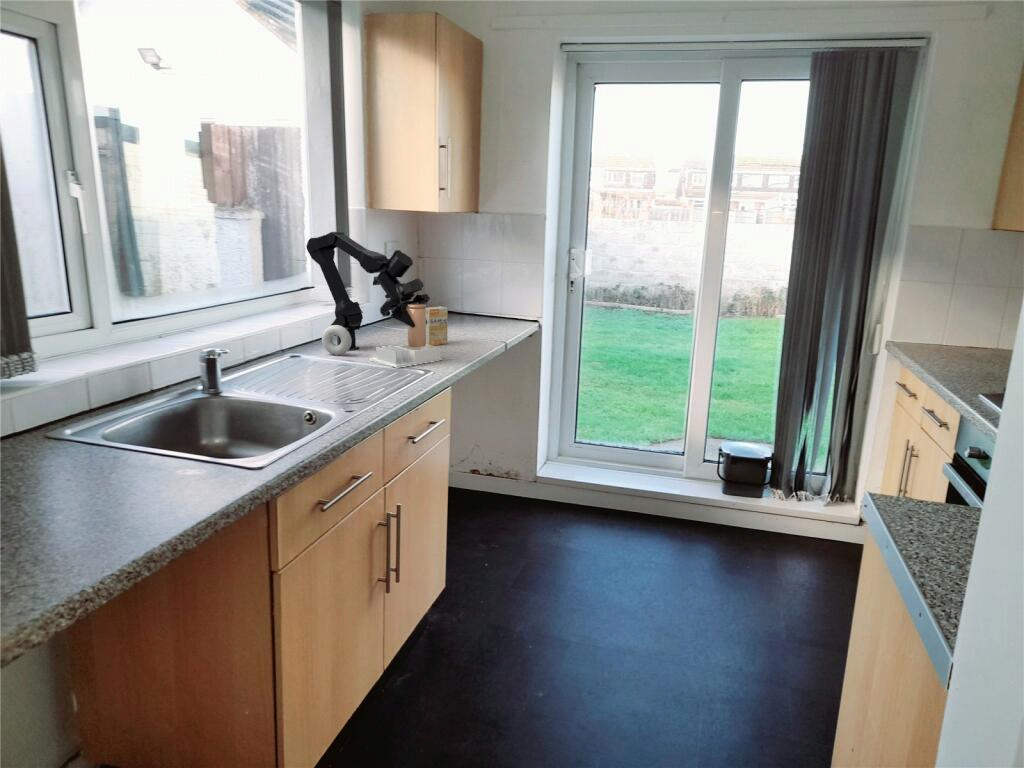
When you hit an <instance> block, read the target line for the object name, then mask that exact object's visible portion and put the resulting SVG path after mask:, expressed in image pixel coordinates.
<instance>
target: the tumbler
mask: <svg viewBox="0 0 1024 768" xmlns="http://www.w3.org/2000/svg"><path fill="white" fill-rule="evenodd" d="M426 308H427V303H426V304H419V303H413V304H408V307H407V312H408V314H409V315H410V317H411V319H412V320H413V322H414V324H415V327H414V328H412V327H410V326H409V325H407V344H408V346H410V347H425V346H426Z"/></svg>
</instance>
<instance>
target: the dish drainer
mask: <svg viewBox="0 0 1024 768" xmlns="http://www.w3.org/2000/svg"><path fill="white" fill-rule="evenodd" d="M375 348H376V356H373V357H369V361H370V360H371V361H375V362H378V363H383V364H386V365H390V366H394V367H402V366H409V365H414V364H420V363H425V362H431V361H437V362H440V361H439V360H442V361H443V357H441V356H440V346H438V345H429V344H426V346H425V347H410V346H408V343H406V344H403V345H396V346H395V345H390V344H388V345H387V346H385V345H382V346H381V347H380V346H376V347H375ZM371 361H370V362H371ZM378 363H377V364H378ZM431 363H432V362H431Z"/></svg>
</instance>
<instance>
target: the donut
mask: <svg viewBox="0 0 1024 768" xmlns="http://www.w3.org/2000/svg"><path fill="white" fill-rule="evenodd" d="M334 336H336V337H337V336H339V337H340V339H341V343H340V345H337V344H335V343H334V341H333V338H334ZM351 342H352V340H351V336H350V334H349V332H348V331H347V330H346V329H345V328H344V327H342V326H339V325H331V324H330V325H329V326H328V327H326V328H325V330H324V331H323V333H322V335H321V344H322V346H323V348H324V349H325V350H326V351H327V352H328V353H329V354H331V355H333V354H335V355H334V356H341V355H345V354H347V352H348V351H350V350H349V349H350V347H351Z"/></svg>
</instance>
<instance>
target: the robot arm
mask: <svg viewBox="0 0 1024 768" xmlns="http://www.w3.org/2000/svg"><path fill="white" fill-rule="evenodd" d="M306 243H307V244H306V251H307V253H308V254H309V256H310V258H311V259H312V260H313V261H314V262H315V263H316V264H317V265H319V267H320V270H321V272H322V274H323V276H324V279H325V281H326V284H327V286H328V289H329V292H330V293H331V297H332V298H333V299H332V300H333V301H334V304H335V306H334V307H335V309H334V317H335V319H334V320H333V321H332V323H331V324H330V326H331V325H339V326H342V327H344V328H345V329H346V330H347V331H348V332H349V334H350V336H351V340H352V342H351V347H350V349H349V350H348V351H350V350H351V349H352V350H356V349H357V350H358V349H360V346H357V341H356V331H357V330H360V329H361V324H362V322H363V319H364V318H363V312H364V311H362V309H361V306H360V303H359V302H358V301H355V302H354V301H352V299H351V298H350V296H349V293H348V292H347V289H346V286H345V284H344V282H343V279H342V277H341V275H340V272H339V269H338V268H337V265H336V263H335V254H336V251H335V249H337V248H338V249H340V250H342V251H343V252H344V253H346V254H348V255H349V256H350V257H352V258H353V259H355V260H356V261H357V262H358V263H359V265H360V267H361V268H362V269H363V270H364V271H365V272H366V273H367V274H378V275H377V276H373V281H372V286H380V287H381V288H382V289H383V291H384V292H385V295H384V297H385V299H386V301H385V302H384V303H383V304H382V305H381V306H380V308H379V313H380V315H381V316H382V317H384V318H385V317H390V318H393V319H395V320H398V321H399V322H401V323H403V324H406V325H407V326H408V325H409V326H410V327H412V328H414V327H415V324H414V322H413V320H412V319H411V317H410V315H409V314H408V304H413V303H419V304H426V305H427V303H428V302H429V301H430V300H431V298H430V297H429V294H428V293H419V294H415V293H417V292H420V291H422V290H423V287H424V282H423V281H422V280H421V279H420V278H415V279H413V280H410V281H408V282H406V283H405V282H401V280H399V279H400V278H403V277H405V274H406V273H407V272H408V271H409V269H410V268H411V267H413V265H414V262H413V259H412V258H411V257H410V256H409V255H407V254H406V253H404V252H402V251H401V250H400V249H399V250H398V249H397V250H394V252H393V254H392V255H391V257H390V258H388V257H387V256H386V255H385V254H383V253H380V252H378V251H374V250H370V249H368V248H366V247H364V246H362V244H360V243H358V242H356V241H355V240H354V239H352V238H350V237H349V236H347V235H346V234H345V233H344V232H343V231H330V232H328V233H326V234H324V235H321V236H318V237H317V236H316V237H311V238H309V239H308V240H307V242H306ZM414 296H415V297H414ZM413 297H414V298H413ZM412 298H413V299H412ZM390 311H391V312H390ZM426 324H427V320H426ZM336 339H337V341H336V343H337V344H336V345H340V343H341V339H340V337H339V336H337V335H336Z"/></svg>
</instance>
